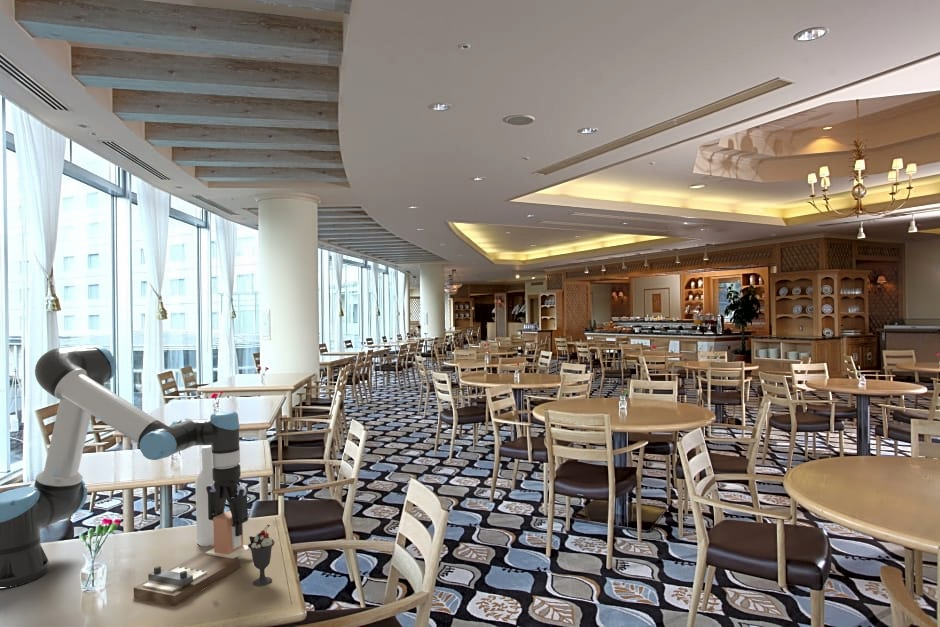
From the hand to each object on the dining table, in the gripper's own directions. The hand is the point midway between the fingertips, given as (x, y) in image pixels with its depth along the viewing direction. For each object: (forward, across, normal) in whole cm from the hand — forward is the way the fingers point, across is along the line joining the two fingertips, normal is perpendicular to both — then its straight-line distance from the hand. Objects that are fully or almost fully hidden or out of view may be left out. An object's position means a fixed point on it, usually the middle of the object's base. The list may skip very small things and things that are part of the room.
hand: (228, 545), depth 167 cm
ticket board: (+4, 0, +14) cm, 15 cm away
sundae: (+4, -19, +8) cm, 21 cm away
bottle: (+4, +16, -9) cm, 19 cm away
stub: (+2, 0, 0) cm, 2 cm away
